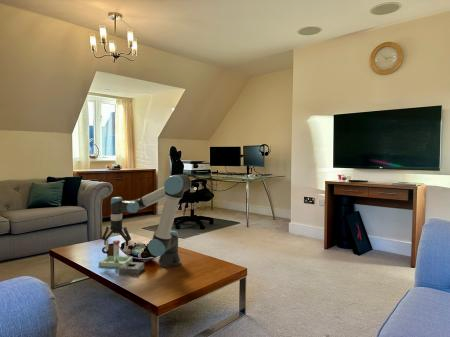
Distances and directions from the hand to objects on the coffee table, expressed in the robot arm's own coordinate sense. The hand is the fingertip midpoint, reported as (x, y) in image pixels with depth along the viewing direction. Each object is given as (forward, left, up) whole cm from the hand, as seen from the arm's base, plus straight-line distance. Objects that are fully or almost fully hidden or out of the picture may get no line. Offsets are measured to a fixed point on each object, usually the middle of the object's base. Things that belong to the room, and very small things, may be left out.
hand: (116, 250), depth 212 cm
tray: (0, 0, -10) cm, 10 cm away
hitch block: (-16, +12, -10) cm, 22 cm away
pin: (0, 0, -9) cm, 9 cm away
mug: (+10, -11, -10) cm, 18 cm away
